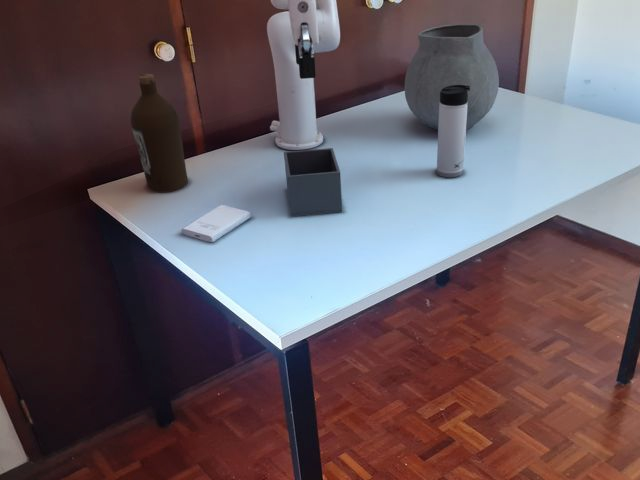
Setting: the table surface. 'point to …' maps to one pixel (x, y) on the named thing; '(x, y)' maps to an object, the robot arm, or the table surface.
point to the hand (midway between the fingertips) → (305, 70)
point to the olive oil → (158, 139)
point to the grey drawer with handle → (313, 182)
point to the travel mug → (452, 130)
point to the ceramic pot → (451, 72)
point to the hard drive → (216, 223)
